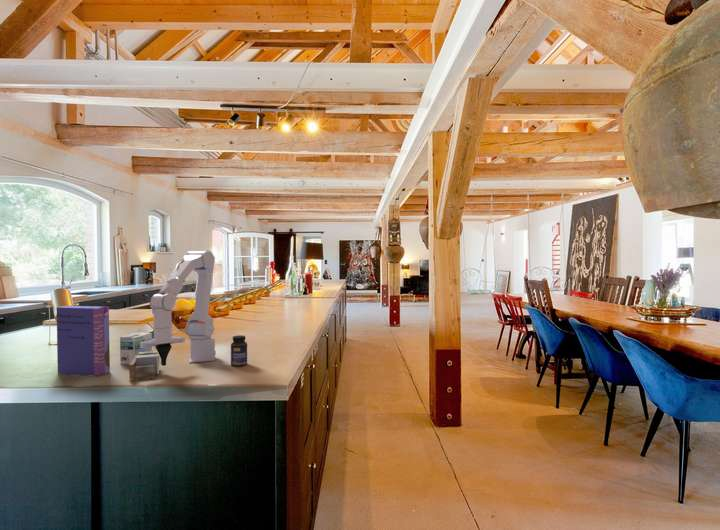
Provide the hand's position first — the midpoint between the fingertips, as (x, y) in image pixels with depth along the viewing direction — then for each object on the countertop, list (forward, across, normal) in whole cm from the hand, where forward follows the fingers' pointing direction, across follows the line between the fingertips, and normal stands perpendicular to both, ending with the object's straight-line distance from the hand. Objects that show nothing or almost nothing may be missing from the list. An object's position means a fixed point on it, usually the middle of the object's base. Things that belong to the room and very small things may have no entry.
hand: (163, 365), depth 146 cm
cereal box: (+3, +21, -20) cm, 29 cm away
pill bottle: (+3, -25, +8) cm, 26 cm away
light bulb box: (+3, +2, -25) cm, 26 cm away
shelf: (+3, +6, -4) cm, 8 cm away
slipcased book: (+3, +4, -3) cm, 6 cm away
